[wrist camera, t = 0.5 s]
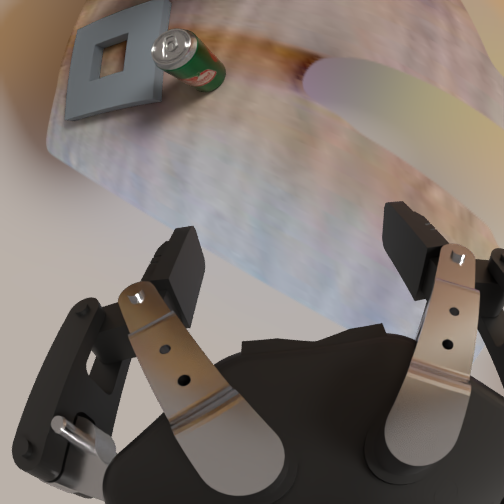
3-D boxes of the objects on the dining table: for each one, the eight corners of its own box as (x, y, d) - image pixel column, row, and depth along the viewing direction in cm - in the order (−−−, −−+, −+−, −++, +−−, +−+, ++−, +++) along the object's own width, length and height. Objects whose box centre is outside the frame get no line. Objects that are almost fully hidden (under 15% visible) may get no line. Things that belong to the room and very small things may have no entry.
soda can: (193, 96, 33) (149, 74, 22) (189, 65, 31) (146, 35, 20) (229, 88, 32) (196, 58, 20) (224, 56, 30) (192, 19, 19)
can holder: (85, 33, 31) (77, 29, 28) (171, 3, 28) (164, -4, 26) (74, 120, 36) (64, 120, 34) (161, 101, 34) (152, 98, 31)
